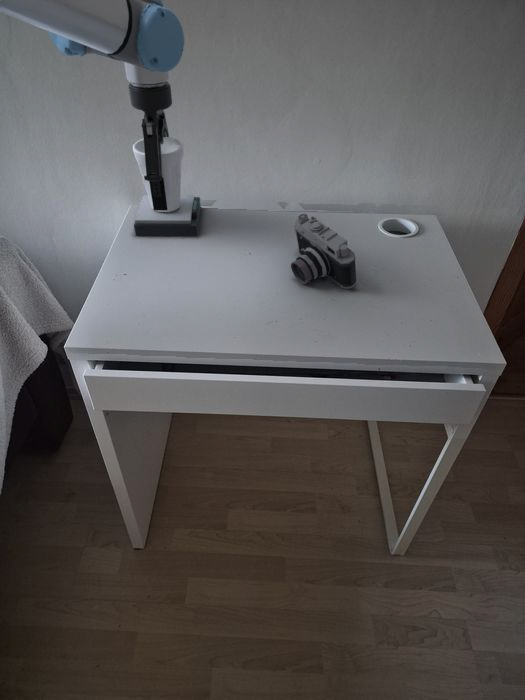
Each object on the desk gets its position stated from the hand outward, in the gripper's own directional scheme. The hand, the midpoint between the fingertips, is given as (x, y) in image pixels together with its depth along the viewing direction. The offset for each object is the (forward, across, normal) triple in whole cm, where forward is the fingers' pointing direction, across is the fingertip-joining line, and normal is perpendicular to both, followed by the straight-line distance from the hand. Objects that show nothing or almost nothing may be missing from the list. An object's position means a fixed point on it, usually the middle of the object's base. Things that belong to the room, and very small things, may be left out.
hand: (164, 194), depth 95 cm
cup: (+3, 0, 0) cm, 3 cm away
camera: (+6, -21, -30) cm, 37 cm away
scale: (+6, 0, 0) cm, 6 cm away
